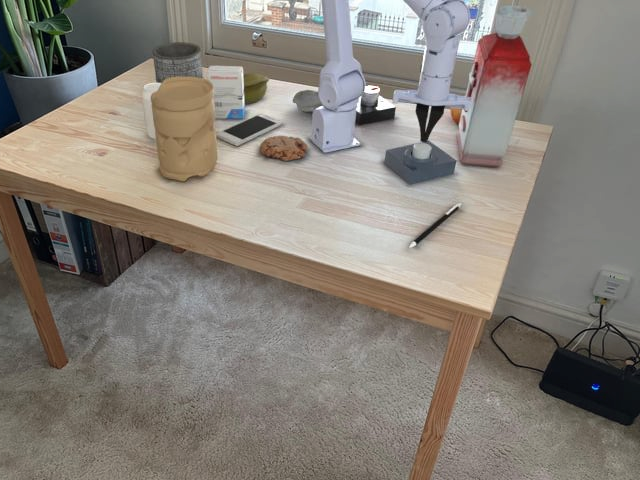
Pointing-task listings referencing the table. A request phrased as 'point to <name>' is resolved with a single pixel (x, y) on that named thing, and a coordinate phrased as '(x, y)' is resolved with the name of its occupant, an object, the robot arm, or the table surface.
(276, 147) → the cookie
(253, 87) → the olive green bowl
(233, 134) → the smartphone
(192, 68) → the planter
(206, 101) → the container
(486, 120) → the bottle
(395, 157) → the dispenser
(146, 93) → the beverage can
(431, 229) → the pen
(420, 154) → the white short cylinder
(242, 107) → the ink box
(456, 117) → the fruit
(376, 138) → the table surface
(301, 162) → the table surface
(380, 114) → the tap plate
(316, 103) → the seashell
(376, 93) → the rotary dial knob
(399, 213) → the table surface
